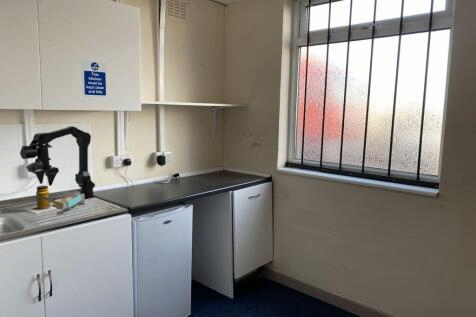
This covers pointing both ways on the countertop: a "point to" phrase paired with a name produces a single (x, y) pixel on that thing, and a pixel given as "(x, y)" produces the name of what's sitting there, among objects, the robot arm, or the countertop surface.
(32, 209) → the mat
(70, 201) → the bar
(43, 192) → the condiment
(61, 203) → the holder
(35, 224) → the countertop surface
